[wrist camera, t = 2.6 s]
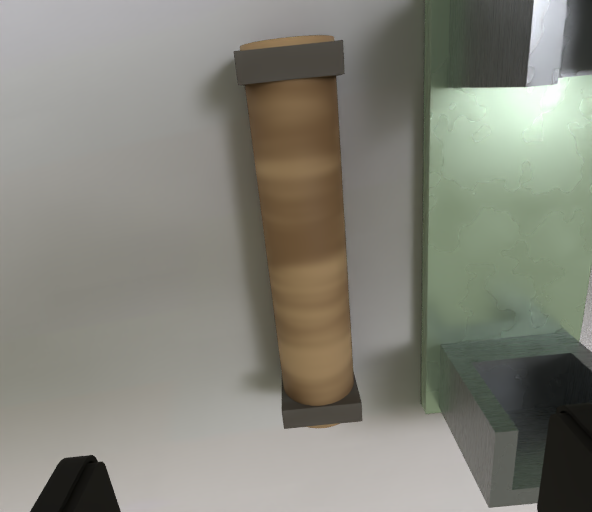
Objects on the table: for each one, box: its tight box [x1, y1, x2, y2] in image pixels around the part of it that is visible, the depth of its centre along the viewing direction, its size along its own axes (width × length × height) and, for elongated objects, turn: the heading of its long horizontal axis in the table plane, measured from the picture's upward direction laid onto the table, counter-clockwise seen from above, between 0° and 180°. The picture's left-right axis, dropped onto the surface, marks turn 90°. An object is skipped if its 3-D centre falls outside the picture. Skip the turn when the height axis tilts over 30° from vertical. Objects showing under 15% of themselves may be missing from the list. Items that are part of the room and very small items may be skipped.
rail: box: [234, 35, 362, 429], centre depth 22 cm, size 19×4×4 cm, turn 5°
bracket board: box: [421, 0, 592, 508], centre depth 20 cm, size 24×9×8 cm, turn 5°
